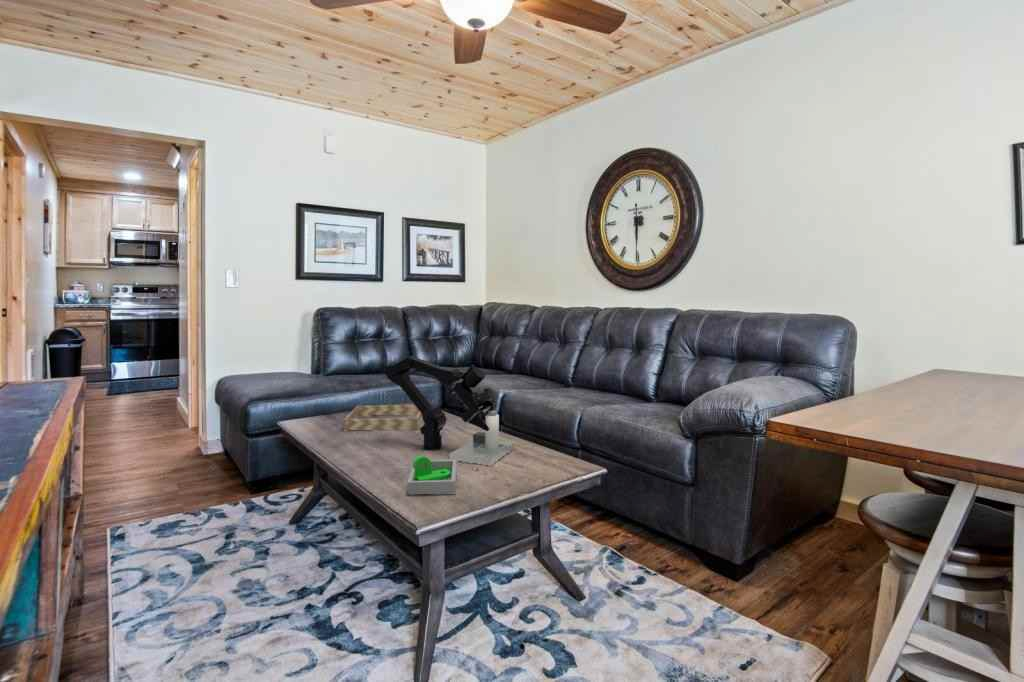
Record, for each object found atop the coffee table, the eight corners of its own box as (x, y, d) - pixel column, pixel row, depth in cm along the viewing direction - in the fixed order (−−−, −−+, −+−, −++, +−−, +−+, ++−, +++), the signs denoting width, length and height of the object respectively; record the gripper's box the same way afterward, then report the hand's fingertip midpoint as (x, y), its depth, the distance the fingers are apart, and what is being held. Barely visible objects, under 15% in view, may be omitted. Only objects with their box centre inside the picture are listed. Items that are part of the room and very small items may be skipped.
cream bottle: (485, 451, 197) (485, 412, 195) (485, 447, 202) (485, 409, 200) (498, 450, 197) (499, 412, 196) (498, 447, 202) (498, 409, 201)
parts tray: (407, 495, 161) (407, 482, 161) (414, 472, 182) (414, 460, 181) (455, 493, 163) (455, 481, 162) (456, 471, 183) (456, 459, 182)
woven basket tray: (343, 431, 233) (343, 420, 232) (357, 415, 261) (356, 405, 260) (418, 429, 235) (418, 418, 235) (423, 414, 264) (423, 404, 263)
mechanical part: (420, 486, 170) (419, 462, 169) (413, 480, 175) (412, 457, 174) (454, 479, 176) (453, 455, 176) (446, 474, 181) (446, 451, 181)
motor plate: (449, 460, 194) (449, 445, 194) (476, 444, 214) (476, 430, 214) (490, 466, 188) (490, 451, 187) (514, 448, 208) (514, 435, 208)
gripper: (469, 386, 190) (497, 419, 187) (491, 378, 207) (517, 408, 204) (450, 405, 194) (477, 438, 191) (473, 396, 211) (498, 426, 208)
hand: (493, 427), depth 198 cm, fingers open, 9 cm apart
